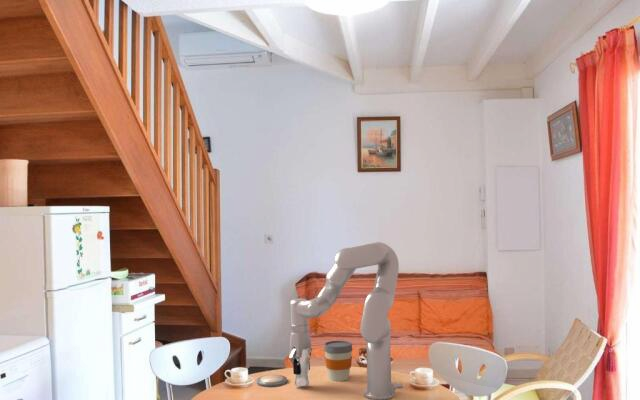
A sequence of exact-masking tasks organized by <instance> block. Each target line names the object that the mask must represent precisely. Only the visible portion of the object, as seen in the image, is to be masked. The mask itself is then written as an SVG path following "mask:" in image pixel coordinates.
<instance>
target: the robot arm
mask: <svg viewBox="0 0 640 400" xmlns="http://www.w3.org/2000/svg"><path fill="white" fill-rule="evenodd" d="M334 258H335V259H334V261H335V262H334V264H333V265H332V266H331V268H330V270H328V272H327V274H326V275H325V279H326V281H325V284H324V286H323V287H322V289H321V291H320V292H319V294H318V295H317V296H316V297H315V298H314V297H313V299H309V300H308V299H306V298H302V297H301V298H292V299H291V300H290V304H289V305H290V306H289V307H290V328H291V329H290V331H291V333H290V336H289V360H290V362H291V363H292V364H291V365H293V366H292V367H293V375H296V374H297V375H300V374H301V369H300V365H299V363H300V358H301V357H302V352H303V349H307V348H308V347H309V355H310V357H311V355H312V352H313V348H312V343H311V334H310V324H309V322H310V321H309V320H310V319H316V318H319V317H321V316H323V315H325V314H326V313H327V312H329V310H330V309H331V307H332V306H333V305H334V303H335V302H336V301H337V299H338V298H339V295H340V294H341V292H342V291H343V289H344V287H345V286H346V284H347V282H348V281H349V279H350V278H351V277H352V275H353V274H354V272H355V271H356V270H357V269H362V268H368V267H372V266H377V269H376V270H377V271H376V275H375V278H374V279H375V280H374V285H373V289H372V291H370V292H369V293H368V294H367V296H366V298H365V301H364V305H363V309H362V316H361V322H360V329H359V330H360V331H359V332H360V335H361V338H362V339H363V340H364V341H365V342H366V345H365V346H366V349H365V350H366V352H365V353H366V385H367V386H366V388H365V389H364V390H363V396H364V397H366V398H367V399H371V400H390V399H393V398H395V396H396V390H397V389H404V385H403V382H399V383H397V381H396V382H395V381H394V382H393V381H392V366H391V365H392V363H391V362H392V361H391V360H392V359H391V356H392V355H391V340H392V337H391V336H392V334H391V333H392V325H391V321H390V319H389V318H388V315H389V311H390V310H391V308H393V305H394V302H395V297H396V296H395V295H396V289H397V283H398V282H397V281H398V276H399V270H400V269H399V268H400V267H399V266H400V265H399V259H398V256H397V254H396V252H395V250H394V249H393V248H391V246H389V244H386V243H384V242H381V241H380V242H371V243H367V244H363V245H357V246H353V247H345V248H342V249H340V250H339V251H338V252H337V253H336V255H335V257H334ZM309 318H310V319H309ZM296 354H297V357H295V355H296ZM295 358H297V360H296V359H295ZM309 371H311V364H309Z"/></svg>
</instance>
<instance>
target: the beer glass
mask: <svg viewBox="0 0 640 400" xmlns="http://www.w3.org/2000/svg"><path fill="white" fill-rule="evenodd" d="M295 357H297V354H296V355H295ZM295 359H296V360H297V358H295ZM310 361H311V356H310V355H309V347H308V348H307V349H303V352H302V357H301V358H300V363H299V365H300V369H301V374H300V375H297V374H295V382H294V385H295V386H296V387H307V386H310V384H311V382H310V379H309V371H310V370H309V364H310V363H311V362H310ZM310 365H311V364H310Z"/></svg>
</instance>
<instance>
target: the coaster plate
mask: <svg viewBox="0 0 640 400" xmlns="http://www.w3.org/2000/svg"><path fill="white" fill-rule="evenodd" d="M287 382H288V378H287V376H285V375H282V374H269V375H262V376H260V377H258V378H257V379H256V384H257V385H258V386H260V387H265V388H274V387H275V388H276V387H279V386H280V387H281V386H283V385H286V384H287Z"/></svg>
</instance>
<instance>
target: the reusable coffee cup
mask: <svg viewBox="0 0 640 400" xmlns="http://www.w3.org/2000/svg"><path fill="white" fill-rule="evenodd" d="M323 347H324V349H323V351H324V354H325V356H324V359H325V360H324V361H325V368H327V375H328V380H330V381H332V382H345V381H344V380H346V381H347V379H348V380H349V379H350V373H351V371H350V370H351V368H352V361H353V356H352V352H353V345H352V342H351V341H347V340H330V341H326V342H324V346H323Z"/></svg>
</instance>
